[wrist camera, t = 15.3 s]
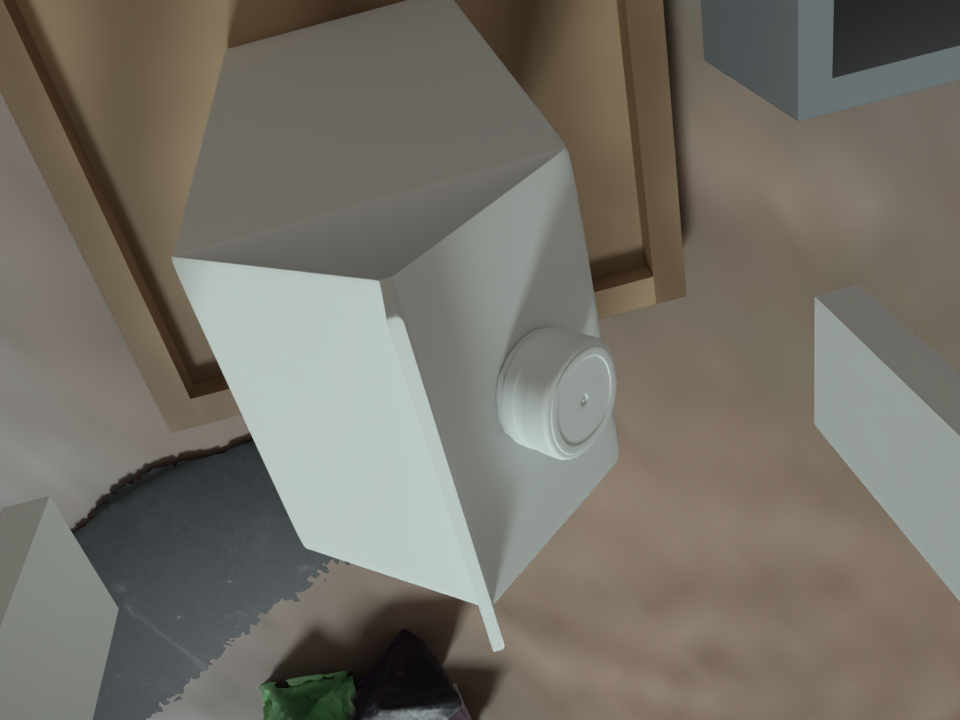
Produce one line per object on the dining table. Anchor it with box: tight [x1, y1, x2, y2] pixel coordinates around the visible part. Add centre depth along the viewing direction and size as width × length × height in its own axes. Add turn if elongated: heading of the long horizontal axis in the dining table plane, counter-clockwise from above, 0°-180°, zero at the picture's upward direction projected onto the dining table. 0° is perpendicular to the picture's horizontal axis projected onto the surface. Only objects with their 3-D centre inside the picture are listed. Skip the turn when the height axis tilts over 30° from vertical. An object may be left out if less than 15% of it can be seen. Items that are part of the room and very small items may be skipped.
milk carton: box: [172, 0, 619, 652], centre depth 22 cm, size 7×7×19 cm
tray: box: [0, 0, 686, 433], centre depth 30 cm, size 20×18×2 cm
